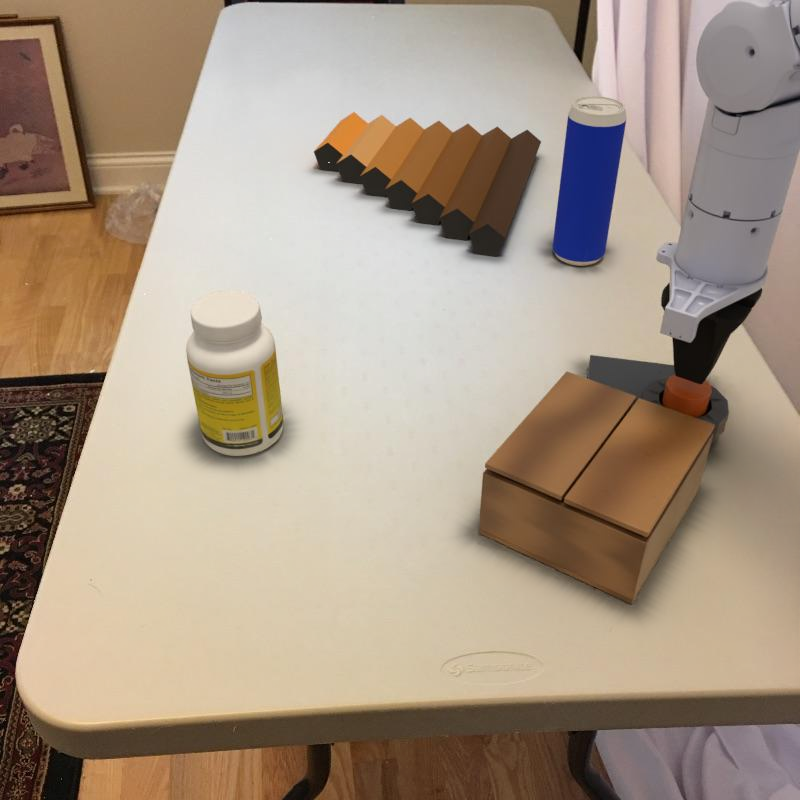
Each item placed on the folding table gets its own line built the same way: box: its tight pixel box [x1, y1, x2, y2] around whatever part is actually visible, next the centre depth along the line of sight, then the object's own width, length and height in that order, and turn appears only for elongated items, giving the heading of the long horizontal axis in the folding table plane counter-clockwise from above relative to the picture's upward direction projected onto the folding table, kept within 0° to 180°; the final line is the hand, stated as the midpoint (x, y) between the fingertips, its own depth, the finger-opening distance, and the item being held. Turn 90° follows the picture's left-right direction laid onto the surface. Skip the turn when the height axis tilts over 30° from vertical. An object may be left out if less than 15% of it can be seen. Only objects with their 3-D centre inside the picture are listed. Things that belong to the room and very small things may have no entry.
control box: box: [586, 354, 730, 443], centre depth 69 cm, size 10×10×3 cm
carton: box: [478, 370, 713, 605], centre depth 60 cm, size 11×12×6 cm
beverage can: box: [552, 95, 627, 267], centre depth 85 cm, size 5×5×15 cm
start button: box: [662, 375, 712, 417], centre depth 66 cm, size 3×3×2 cm
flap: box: [564, 398, 715, 537], centre depth 57 cm, size 5×12×1 cm, turn 146°
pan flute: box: [313, 111, 542, 257], centre depth 100 cm, size 25×3×25 cm
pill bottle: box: [185, 289, 284, 457], centre depth 65 cm, size 6×6×11 cm
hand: (691, 375), depth 65 cm, fingers closed
